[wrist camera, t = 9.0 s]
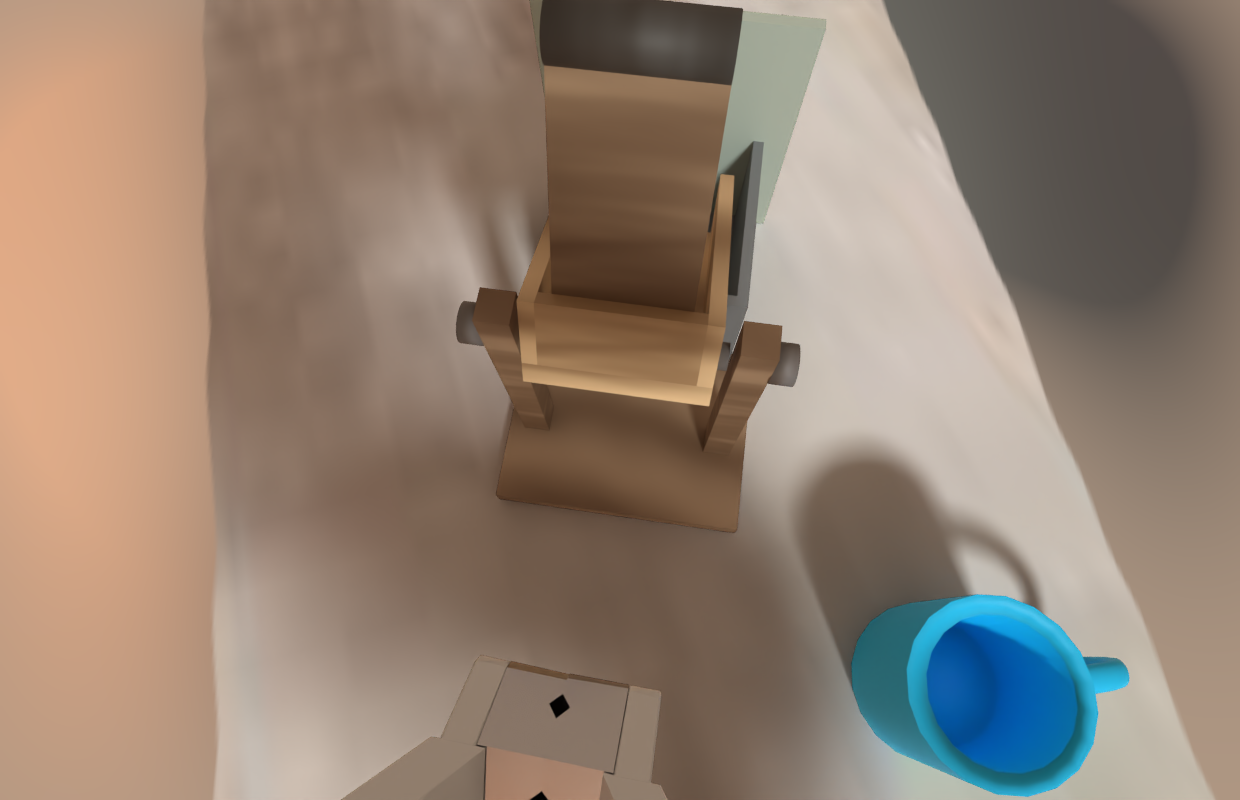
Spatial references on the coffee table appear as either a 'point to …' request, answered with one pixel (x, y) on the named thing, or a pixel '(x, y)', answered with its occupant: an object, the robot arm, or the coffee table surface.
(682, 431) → the stand
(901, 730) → the mug
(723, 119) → the chute
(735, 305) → the bin
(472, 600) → the coffee table surface
